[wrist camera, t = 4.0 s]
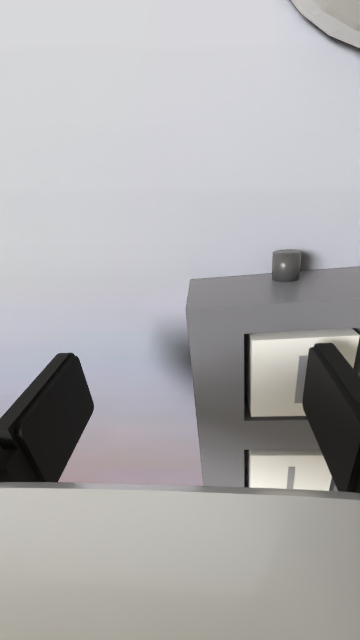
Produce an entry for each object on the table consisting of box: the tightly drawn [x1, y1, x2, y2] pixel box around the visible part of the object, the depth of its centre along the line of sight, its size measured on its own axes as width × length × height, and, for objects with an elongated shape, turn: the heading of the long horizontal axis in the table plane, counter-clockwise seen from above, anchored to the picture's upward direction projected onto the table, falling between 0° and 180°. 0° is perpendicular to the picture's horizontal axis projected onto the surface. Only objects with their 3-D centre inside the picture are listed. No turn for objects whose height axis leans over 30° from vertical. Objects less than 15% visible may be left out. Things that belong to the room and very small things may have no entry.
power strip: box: [186, 250, 360, 491], centre depth 15 cm, size 21×9×4 cm, turn 6°
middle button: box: [244, 449, 332, 491], centre depth 15 cm, size 4×4×3 cm
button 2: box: [244, 328, 360, 417], centre depth 12 cm, size 4×4×3 cm
